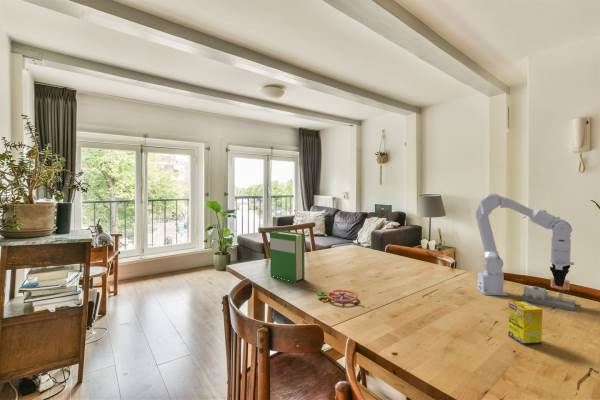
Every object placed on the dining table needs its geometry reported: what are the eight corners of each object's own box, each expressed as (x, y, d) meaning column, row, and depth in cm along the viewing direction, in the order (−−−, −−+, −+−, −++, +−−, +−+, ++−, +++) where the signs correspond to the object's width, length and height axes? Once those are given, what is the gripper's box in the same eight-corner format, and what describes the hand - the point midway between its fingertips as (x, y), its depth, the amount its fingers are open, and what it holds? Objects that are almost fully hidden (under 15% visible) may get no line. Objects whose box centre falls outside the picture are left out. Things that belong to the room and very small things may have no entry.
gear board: (521, 300, 122) (522, 287, 121) (525, 293, 129) (525, 282, 128) (574, 311, 110) (574, 297, 110) (575, 303, 117) (575, 290, 117)
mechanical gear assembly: (353, 313, 111) (373, 303, 122) (353, 302, 111) (374, 293, 122) (297, 294, 132) (318, 287, 142) (297, 285, 132) (318, 278, 142)
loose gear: (556, 289, 114) (556, 282, 114) (546, 284, 120) (546, 277, 120) (573, 290, 114) (573, 282, 114) (562, 285, 119) (562, 278, 119)
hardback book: (304, 279, 152) (304, 233, 151) (295, 283, 146) (294, 235, 145) (280, 273, 163) (279, 230, 162) (270, 276, 157) (269, 232, 156)
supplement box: (507, 335, 93) (508, 301, 92) (525, 334, 93) (525, 301, 93) (523, 345, 87) (524, 309, 86) (542, 344, 87) (543, 308, 87)
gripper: (573, 254, 108) (572, 291, 109) (575, 248, 119) (574, 281, 119) (548, 252, 113) (547, 286, 114) (552, 246, 124) (551, 278, 124)
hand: (559, 284), depth 117 cm, fingers closed on loose gear, 6 cm apart
